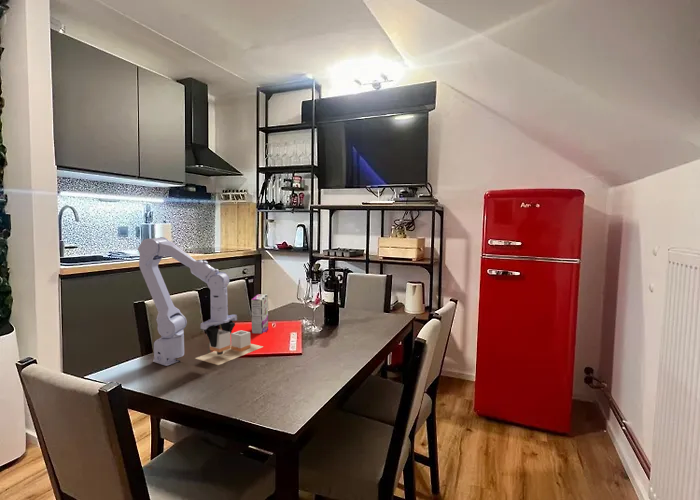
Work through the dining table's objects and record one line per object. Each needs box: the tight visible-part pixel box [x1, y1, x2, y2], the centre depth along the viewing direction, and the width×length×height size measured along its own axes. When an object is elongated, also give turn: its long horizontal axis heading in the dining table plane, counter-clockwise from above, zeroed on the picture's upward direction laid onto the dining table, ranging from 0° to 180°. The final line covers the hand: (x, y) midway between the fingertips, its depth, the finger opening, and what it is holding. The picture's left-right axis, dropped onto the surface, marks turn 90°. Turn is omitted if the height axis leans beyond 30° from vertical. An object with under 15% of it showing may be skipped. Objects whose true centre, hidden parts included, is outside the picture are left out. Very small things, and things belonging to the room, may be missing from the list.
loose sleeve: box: [209, 329, 231, 352], centre depth 136 cm, size 5×5×6 cm
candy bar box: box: [250, 293, 269, 334], centre depth 170 cm, size 11×5×16 cm, turn 179°
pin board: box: [194, 343, 264, 366], centre depth 141 cm, size 22×12×5 cm, turn 150°
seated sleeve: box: [230, 330, 252, 351], centre depth 145 cm, size 5×5×6 cm
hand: (219, 344), depth 137 cm, fingers closed on loose sleeve, 5 cm apart
